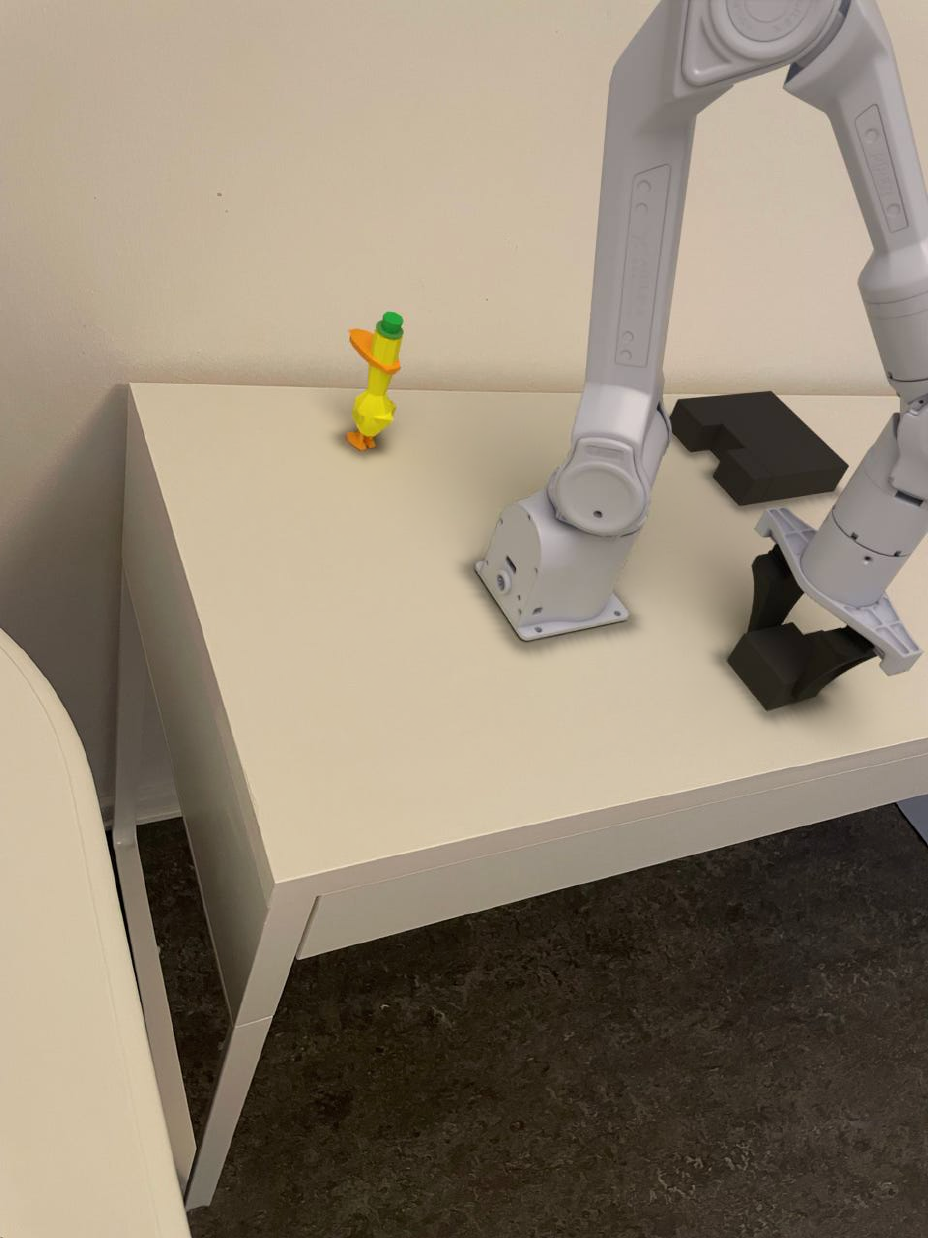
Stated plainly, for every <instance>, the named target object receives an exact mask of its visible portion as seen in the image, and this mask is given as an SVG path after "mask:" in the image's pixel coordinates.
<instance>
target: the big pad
mask: <svg viewBox="0 0 928 1238" xmlns="http://www.w3.org/2000/svg"><path fill="white" fill-rule="evenodd" d="M669 419H670V423H671V427H672V434H673V435H674V436H675V437H676V438H677V439H678V441H680V442H681V443H682V444H683V446H685V448H686V449H687V450H688V451H689V452H690V453H692V452H699V451H700V452H701V451H707V450H709V451H711V453H712V454H714V455H715V456H716V458H717V459H718V460H719V461H720V462H719V464H718V465H717V467H716V469H715V472H714V474H713V475H712V477H713V478H714V479H715V480H716V481H717V483H719V485H720V486H721V487H722V488H723V489H724V490H725V491H726V492H727V494H728V495H729V496H730V497H731V498H732V499H733V501H735V503H737V504H738V505H739V506H744V505H752V504H758V503H765V502H772V501H777V500H785V499H791V498H796V497H804V496H809V495H815V494H821V493H822V494H823V493H828V492H834V491H836V488H837V487H838V486H839V484H840V482H841V481H842V479H843V477H844V476H845V474H846V472H847V471H848V469H849V467H850V465H849V464H848V463H847V461H845V460H844V459H843V458H842V457H841V456H840V455H839V454H838V453H837V452H836V451H835V450H833V448H832V447H831V446H830V445H828V444H827V442H825V441H824V439H822V437H820V436H819V435H818V434H817V433H816V432H815V431H814V430H813V429H812V428H811V427H810V426H808V425H807V424H806V422H805V421H804V420H802V419H801V418H800V417H799V416H798V415H797V414H796V413H795V412H794V411H793V410H792V409H791V408H790V407H789V406H788V405H787V404H786V403H784V401H782V400H781V398H779V397H778V396H777V395H776V394H775V393H774V392H773V390H765V391H764V390H763V391H754V392H753V391H751V392H741V393H731V394H719V395H708V396H707V395H706V396H698V397H696V396H695V397H687V398H677V400H676V402H675V404H674V407H673V409H672V411H671V413H670V415H669Z"/></svg>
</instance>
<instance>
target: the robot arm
mask: <svg viewBox="0 0 928 1238" xmlns="http://www.w3.org/2000/svg"><path fill="white" fill-rule="evenodd" d="M879 7H880V6H879V4H878V1H877V0H660V1H659V2H658V3H657V5H656V6H655V7H654V9H653V10H652V11H651V13H650V14H649V16H648V17H647V19H646V20H645V21H644V22H643V24H642V25H641V26H640V27H639V29H638V30H637V32H636V34H635V35H634V36H633V37H632V39H631V40H630V42H629V43H628V45H626V47H625V48H624V50H623V52H622V53H621V54H620V56H619V57H618V58H617V60H616V62H615V63H614V65H613V67H612V70H611V75H610V79H609V84H608V95H607V105H606V108H607V109H606V119H605V130H604V131H605V133H604V144H603V153H602V154H603V156H602V166H601V167H602V168H601V178H600V179H601V181H600V192H599V193H600V194H599V203H598V217H597V229H596V240H595V241H596V242H595V250H594V251H595V252H594V262H593V263H594V264H593V265H594V266H593V277H592V287H591V288H592V289H591V290H592V291H591V301H590V313H589V326H588V337H587V351H586V361H585V372H584V382H583V386H582V391H581V395H580V399H579V403H578V407H577V411H576V414H575V418H574V423H573V427H572V430H571V439H570V448H569V450H568V453H567V454H566V457H565V459H564V460H563V462H562V463H561V465H560V466H558V467H557V468H555V470H554V471H553V473H552V474H551V475H550V477H549V480H548V482H547V483H546V484H545V485H544V486H543V487H542V488H541V489H539V490H537V491H536V492H535V493H534V494H532V495H530V496H527V497H525V498H523V499H521V500H518V501H514V502H511V503H509V504H507V505H506V506H505V507H504V508H503V509H502V510H501V512H500V514H499V516H498V518H497V522H496V524H495V528H494V531H493V534H492V536H491V539H490V542H489V545H488V548H487V552H486V555H485V557H484V560H479V561H477V562H476V563H475V565H474V570H475V571H476V572H477V574H478V575H479V577H480V579H481V580H482V581H483V583H484V585H485V586H486V588H487V589H488V591H489V592H490V594H491V596H492V597H493V598H494V600H495V602H496V603H497V604H498V606H499V608H500V610H501V611H502V613H504V615H505V617H506V618H507V620H508V622H509V623H510V625H511V626H512V627H513V629H514V631H515V632H516V633H517V635H518V636H519V638H520V639H521V640H523V641H534V640H538V639H543V638H546V637H547V638H548V637H552V636H556V635H562V634H566V633H571V632H575V631H579V630H584V629H585V630H586V629H589V628H594V627H599V626H603V625H608V624H613V623H618V622H623V621H626V620H628V618H629V616H630V614H629V611H628V610H627V608H626V607H625V606H624V604H623V603H622V601H621V600H620V598H618V596H617V595H616V594H615V592H614V590H615V587H616V586H617V585H616V584H617V583H618V580H619V578H620V576H621V574H622V573H623V571H624V568H625V565H626V563H627V561H628V559H629V557H630V555H631V553H632V551H633V549H634V546H635V545H636V542H637V540H638V538H639V536H640V534H641V531H642V529H643V527H644V525H645V523H646V521H647V519H648V516H649V511H650V509H649V508H650V505H651V499H652V497H651V496H652V491H653V488H654V485H655V482H656V479H657V476H658V472H659V470H660V467H661V464H662V461H663V458H664V457H665V454H666V452H667V450H668V448H669V446H670V444H671V441H672V435H673V432H672V427H671V423H670V419H669V417H670V415H669V414H668V412H667V409H666V407H665V403H664V402H665V401H664V391H665V390H664V389H665V383H666V382H665V381H666V379H665V373H664V369H663V368H664V363H665V362H664V361H665V355H666V347H667V339H668V332H669V325H670V318H671V317H670V316H671V310H672V302H673V297H674V296H673V295H674V288H675V281H676V272H677V264H678V259H679V252H680V242H681V235H682V228H683V221H684V213H685V205H686V197H687V190H688V184H689V177H690V176H689V175H690V170H691V169H690V168H691V162H692V154H693V147H694V140H695V139H694V138H695V131H696V124H697V116H698V115H699V114H700V113H701V112H703V111H704V110H705V109H706V108H708V107H710V105H712V104H713V103H714V102H716V101H717V100H718V99H720V98H721V97H722V96H724V94H726V93H727V92H728V91H730V90H731V89H733V88H734V86H735V85H736V84H739V83H741V82H744V81H747V80H751V79H754V78H756V77H759V76H763V75H765V74H768V73H771V72H774V71H777V70H779V69H782V68H784V67H787V66H789V68H788V69H787V72H786V76H785V79H784V82H783V85H782V89H783V90H784V91H785V92H786V93H788V94H789V95H791V96H793V97H795V98H797V99H798V100H800V101H802V102H804V103H806V104H808V105H809V106H811V107H813V108H815V109H817V110H819V111H820V112H823V113H824V114H825V115H826V117H827V118H828V120H829V123H830V126H831V128H832V131H833V134H834V137H835V140H836V143H837V145H838V148H839V151H840V154H841V157H842V160H843V163H844V166H845V169H846V172H847V175H848V177H849V180H850V183H851V187H852V190H853V192H854V196H855V198H856V201H857V204H858V206H859V209H860V213H861V216H862V218H863V222H864V224H865V227H866V230H867V233H868V236H869V239H870V242H871V245H872V247H873V250H872V252H871V254H870V256H869V257H868V260H867V261H866V263H865V264H864V266H863V268H862V269H861V271H860V273H859V275H858V277H857V281H856V282H857V283H856V284H857V287H858V291H859V295H860V297H861V301H862V303H863V307H864V310H865V313H866V316H867V319H868V323H869V326H870V329H871V332H872V335H873V339H874V342H875V345H876V348H877V351H878V352H877V353H878V354H879V358H880V361H881V364H882V367H883V371H884V373H885V377H886V380H887V383H889V385H890V386H891V387H892V389H894V391H895V394H896V396H897V397H898V398H899V411H898V412H897V411H896V412H893V413H892V414H891V416H890V418H889V420H888V421H887V423H886V424H885V425H884V427H883V429H882V431H881V432H880V434H879V435H878V437H877V439H876V440H875V442H874V443H873V444H872V445H871V446H870V447H869V448H868V449H867V451H866V452H865V454H864V456H863V458H862V459H861V461H860V462H859V464H858V465H857V468H856V469H855V470H854V472H853V473H852V475H851V477H850V478H849V480H848V481H847V483H846V485H845V487H844V488H843V489H842V491H841V493H840V494H839V496H838V498H837V499H836V501H835V502H834V504H833V505H832V507H831V508H830V510H829V512H828V513H827V515H826V516H825V518H824V519H823V520H822V521H823V522H822V523H821V524H820V526H819V528H818V529H815V528H814V527H812V526H811V525H809V523H806V522H805V521H804V520H802V519H801V518H799V517H798V516H797V515H796V514H794V513H793V512H792V510H790V509H789V508H788V506H787V505H782V506H781V505H780V506H774V507H768V508H765V509H764V510H763V512H762V514H761V516H760V517H759V519H758V521H757V523H756V524H755V526H754V531H755V532H756V533H757V534H758V535H759V536H760V537H761V538H763V539H767V538H769V539H770V540H771V541H772V542H773V543H774V545H773V546H772V548H771V549H770V550H768V552H767V553H761V554H758V555H756V556H755V557H754V560H753V561H752V563H751V565H750V566H751V571H752V579H753V599H752V605H751V606H752V607H751V613H750V617H749V622H748V626H747V630H746V633H748V632H752V631H756V630H760V629H765V628H769V627H773V626H777V625H782V624H784V622H785V620H786V619H787V618H788V615H789V614H790V612H791V611H792V609H793V608H794V607H795V605H796V604H797V603H798V602H799V600H800V599H801V598H802V596H803V595H804V594H805V595H806V596H808V597H809V598H810V599H811V600H812V601H814V602H815V603H816V604H818V605H819V606H820V607H822V608H823V609H825V610H826V611H828V612H829V613H830V614H831V615H833V616H835V618H837V619H839V620H840V621H841V622H843V623H844V624H845V626H844V627H837V628H833V629H828V630H823V631H824V632H821V633H820V634H819V636H818V640H817V645H816V648H815V651H814V653H813V656H812V658H811V660H810V662H809V664H808V666H807V668H806V669H805V671H804V672H803V673H802V675H801V676H800V677H799V679H798V680H797V682H796V684H795V686H794V688H793V690H792V692H791V695H792V696H793V698H794V699H795V700H797V701H798V700H802V699H805V698H809V697H812V696H815V695H816V694H817V693H818V692H819V691H820V692H821V691H822V690H823V689H824V688H825V687H827V686H828V685H829V684H831V683H832V682H833V681H834V680H836V679H837V678H839V677H840V676H842V675H843V674H846V673H847V672H849V671H850V670H852V669H853V668H856V667H857V666H860V665H861V664H863V663H866V662H868V661H869V660H872V659H875V658H876V657H878V658H879V659H880V660H881V661H880V662H879V664H878V667H879V668H880V669H881V670H882V672H884V674H885V675H886V676H887V677H893V676H896V675H900V674H903V673H905V672H906V673H907V672H909V671H910V670H911V669H912V667H913V666H914V665H915V664H916V662H917V661H918V660H919V658H920V657H922V655H923V654H924V650H923V649H922V647H921V646H920V645H919V644H918V643H917V641H916V640H915V639H914V637H913V636H912V635H911V633H910V632H909V630H908V629H907V627H906V625H905V624H904V622H903V620H902V618H901V616H900V614H899V613H898V611H897V609H896V608H895V606H894V603H893V602H892V600H891V599H890V597H889V594H888V593H887V591H886V590H888V588H889V586H890V585H891V584H892V582H893V581H894V579H895V578H896V576H897V575H898V574H899V572H900V571H901V569H902V568H903V566H904V565H905V564H906V562H908V560H909V559H910V557H911V556H912V554H913V553H914V552H915V550H916V549H917V548H918V546H919V545H920V543H921V542H922V541H923V539H924V538H925V537H926V535H927V534H928V191H927V188H926V182H925V178H924V175H923V170H922V165H921V161H920V157H919V152H918V149H917V144H916V143H917V142H916V139H915V136H914V131H913V127H912V122H911V119H910V114H909V110H908V105H907V101H906V97H905V92H904V88H903V84H902V79H901V75H900V71H899V66H898V61H897V58H896V57H897V56H896V54H895V53H896V52H895V48H894V45H893V42H892V39H891V36H890V33H889V30H888V28H887V25H886V23H885V20H884V18H883V15H882V12H881V10H880V8H879ZM820 692H819V693H820ZM819 693H818V694H819Z"/></svg>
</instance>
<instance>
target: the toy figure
mask: <svg viewBox="0 0 928 1238" xmlns="http://www.w3.org/2000/svg"><path fill="white" fill-rule="evenodd" d="M404 323H405V321H404V318H403V316H402V315H400V313H397V312H395V311H386V312H384V313H383V314H382V319H380V320H378V321H377V322H376V324H375V329H374V331H373V333H372V331H370V330H366V329H361V328H357V327H355V328H350V329H347V331H348V333H349V343H350V344H351V346H352V348H353V349H354V350H355V351H356V352H357V354H358V355H359V356H360V357H361V358H362V359H363V360H364V361H366V363H368V370H367V388H366V389H365V390H364V391H363V392H361V393H360V394H359V395H358V396H356V397H355V398H354V401H353V407H352V412H351V413H350V416H351V418H352V419H353V421H354V424H355V426H356V427H357V431H356V432H355V431H349V432H347V433H346V439H347V441H348V442H349V444H351V445H352V446H353V447H355V448H356V449H358V450H360V451H361V452H362V451H365V450H367V447H368V448H369V449H372V448H376V443H375V440H374V437H375V436H377V435H378V434H379V433H381V432H382V431H383V430H384V429H385V428H387V427H388V426H389V425H390V424H392V423H393V422H394V421H395V419H394V418H393V417H394V415H395V412H396V410H397V406H396V404H395V402H394V401H393V399H391V400H390V398H389V397H388V394H387V391H388V389H389V386H390V384H391V381H392V378H393V375H396V374H397V373H398V372H399V371H400V370H401V368H402V365H401V362H400V358H399V356H400V351H401V346H402V343H403V342H402V341H403V337H404V333H405V332H404V331H405V330H404V328H403V327H402V326H403V324H404Z"/></svg>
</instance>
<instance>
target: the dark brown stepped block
mask: <svg viewBox="0 0 928 1238" xmlns="http://www.w3.org/2000/svg"><path fill="white" fill-rule="evenodd" d="M824 631H825V630H824V629H820V630H815V631H812V632H808V633H803V632H802V630H801V629H800V628H799V627H798V626H797V624H796V623H794V622H793V621H791V622H786V623H782V625H777V626H773V627H769V628H765V629H760V630H756V631H752V632H748V633H747V632H744V633H742V634H741V636H740V638H739V640H738V641H737V643H736V645H735V647H734V648H733V649H732V651H731V653H730V654H729V656H728V658H727V659H726V662H727V663H728V664H729V666H730V667H731V668H732V669H733V671H734V672H735V673H736V674H737V675H738V677H739V678H740V679H741V680H742V682H743V683H744V685H746V687H747V688H748V689H749V690H750V692H751V693H752V695H754V697H755V698H756V699H757V700H758V702H759V703H760V705H762V706H763V708H764V710H766V711H767V712H768V711H772V710H774V709H775V710H776V709H779V708H781V707H785V706H789V705H792V704H795V703H799V702H803V701H806V700H809V699H813V698H817V696H818V695H819V693H820V692H821V691H819V692H818V693H817V694H816V695H815V696H812V697H809V698H805V699H802V700H798V701H797V700H795V699H794V698H793V696H792V695H791V692H792V690H793V688H794V686H795V684H796V682H797V680H798V679H799V677H800V676H801V675H802V673H803V672H804V671H805V669H806V668H807V666H808V664H809V662H810V660H811V658H812V656H813V653H814V651H815V648H816V645H817V640H818V636H819V634H820V633H821V632H824Z"/></svg>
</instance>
